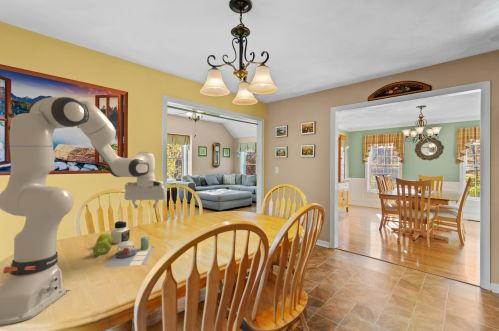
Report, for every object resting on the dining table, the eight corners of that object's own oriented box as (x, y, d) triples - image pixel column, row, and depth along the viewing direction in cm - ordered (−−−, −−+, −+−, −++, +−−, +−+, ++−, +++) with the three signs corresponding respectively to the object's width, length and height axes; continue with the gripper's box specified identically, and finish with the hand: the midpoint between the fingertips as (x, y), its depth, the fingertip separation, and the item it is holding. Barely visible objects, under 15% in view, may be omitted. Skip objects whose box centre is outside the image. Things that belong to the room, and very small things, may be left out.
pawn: (147, 250, 126) (147, 238, 126) (139, 250, 125) (139, 238, 126) (149, 247, 130) (149, 236, 130) (142, 247, 129) (142, 236, 129)
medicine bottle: (121, 244, 136) (121, 223, 136) (110, 243, 138) (110, 222, 137) (129, 240, 144) (130, 220, 143) (119, 239, 145) (119, 219, 144)
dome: (131, 252, 116) (131, 245, 116) (115, 253, 115) (115, 246, 115) (135, 247, 123) (135, 240, 123) (120, 247, 122) (120, 241, 122)
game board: (145, 266, 109) (145, 257, 108) (104, 269, 105) (104, 260, 105) (154, 248, 131) (154, 241, 131) (120, 250, 127) (120, 242, 127)
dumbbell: (110, 255, 120) (110, 241, 120) (91, 258, 117) (92, 243, 117) (113, 245, 135) (113, 232, 135) (96, 246, 132) (97, 234, 132)
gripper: (123, 182, 122) (122, 209, 122) (164, 183, 126) (164, 208, 126) (126, 181, 128) (126, 207, 128) (166, 182, 132) (165, 206, 133)
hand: (145, 208), depth 127 cm, fingers open, 8 cm apart
